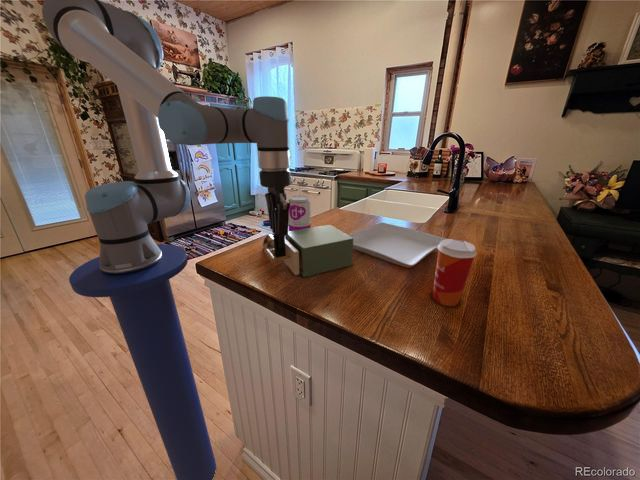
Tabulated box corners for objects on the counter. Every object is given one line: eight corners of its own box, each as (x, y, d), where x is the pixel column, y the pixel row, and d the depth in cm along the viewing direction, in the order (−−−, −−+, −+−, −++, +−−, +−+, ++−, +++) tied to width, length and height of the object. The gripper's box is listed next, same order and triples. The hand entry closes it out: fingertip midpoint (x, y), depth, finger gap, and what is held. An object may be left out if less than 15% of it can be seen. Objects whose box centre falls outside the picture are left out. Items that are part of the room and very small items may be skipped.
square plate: (448, 248, 87) (451, 238, 86) (410, 277, 69) (412, 264, 68) (380, 229, 105) (381, 220, 103) (336, 248, 87) (336, 237, 86)
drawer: (275, 280, 66) (273, 256, 63) (262, 260, 76) (260, 239, 74) (341, 263, 75) (342, 242, 72) (321, 248, 85) (321, 229, 82)
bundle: (262, 247, 87) (261, 235, 85) (276, 245, 89) (275, 232, 87) (268, 255, 81) (267, 242, 80) (282, 252, 83) (282, 239, 82)
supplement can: (306, 242, 92) (306, 201, 86) (285, 239, 94) (283, 199, 88) (313, 234, 99) (313, 196, 93) (293, 232, 101) (292, 194, 96)
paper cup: (430, 286, 65) (440, 235, 60) (464, 295, 62) (478, 242, 56) (425, 302, 59) (435, 247, 54) (462, 313, 55) (477, 255, 50)
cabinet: (303, 277, 69) (303, 248, 66) (286, 257, 80) (285, 231, 77) (351, 265, 76) (353, 238, 73) (329, 248, 87) (330, 224, 84)
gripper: (299, 171, 59) (302, 262, 68) (280, 165, 69) (285, 245, 78) (267, 173, 55) (274, 269, 64) (252, 167, 66) (260, 250, 75)
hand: (280, 256), depth 71 cm, fingers closed
